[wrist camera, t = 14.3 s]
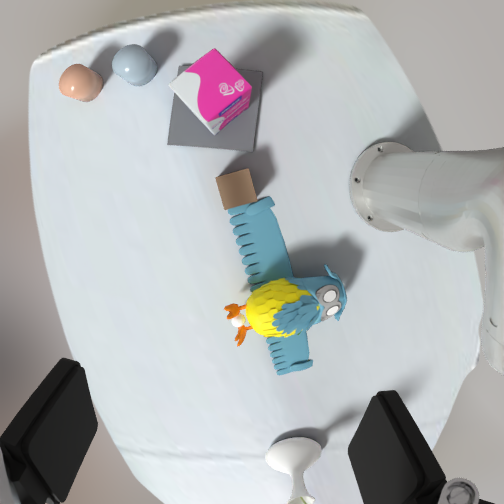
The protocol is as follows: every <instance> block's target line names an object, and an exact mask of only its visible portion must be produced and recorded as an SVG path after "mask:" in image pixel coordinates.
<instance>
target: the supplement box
mask: <svg viewBox="0 0 504 504" xmlns="http://www.w3.org/2000/svg"><path fill="white" fill-rule="evenodd" d="M169 86H170V88H171V89H172V90H173V91H174V92H175V93H176V94H177V95H178V96H179V98H180V99H181V100H182V101H183V102H184V103H185V104H186V105H187V107H188V108H189V109H190V110H191V111H192V112H193V113H194V114H195V115H196V116H197V118H198V119H199V120H200V121H201V122H202V123H203V124H204V125H205V126H206V127H207V128H208V129H209V131H210V132H211V133H212V134H213V135H216V134H217V133H218V132H219V131H220V130H222V129H223V128H224V127H225V126H226V125H227V124H228V123H230V122H231V121H232V120H233V119H235V118H236V117H237V116H238V115H240V114H241V113H242V112H244V111H245V110H247V109H248V107H249V101H250V96H251V90H252V86H251V85H250V84H249V83H248V82H247V81H246V80H245V79H244V78H243V77H242V76H241V75H240V73H239V72H238V71H237V70H236V69H235V68H234V67H233V66H232V65H231V64H230V63H229V62H228V61H227V60H226V59H225V58H224V57H223V56H222V55H221V54H220V53H219V52H218V51H217V50H216V49H215V48H214V49H212V50H211V51H209V52H208V53H207V54H205V55H204V56H203V57H201V58H200V59H199V60H197V61H196V62H195V63H193V64H192V65H191V66H190V67H188V68H187V69H186V70H185V71H184V72H182V73H181V74H180V75H179V76H178V77H177V78H175V79H174V80H173V81H172V82H171V83H170V84H169Z"/></svg>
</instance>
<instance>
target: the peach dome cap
mask: <svg viewBox="0 0 504 504" xmlns="http://www.w3.org/2000/svg"><path fill="white" fill-rule="evenodd" d="M102 86H103V80H102V77H101V76H100V75H99V74H98V73H96V72H94V71H92V70H91V69H89V68H87V67H85V66H83V65H81V64H74V65H71V66H70V67H68V68H67V69H66V70H65V71H64V72H63V74H62V75H61V78H60V81H59V89H60V92H61V93H62V94H63V95H65V96H68V97H71V98H74V99H77V100H80V101H83V102H89V101H92V100H93V99H95V98H96V97H97V96H98V95H99V93H100V92H101V90H102Z"/></svg>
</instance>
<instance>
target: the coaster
mask: <svg viewBox="0 0 504 504" xmlns="http://www.w3.org/2000/svg"><path fill="white" fill-rule="evenodd" d="M188 67H190V66H179V69H178V75H177V77H178V76H179V75H180V74H181V73H182V72H184V71H185V70H186V69H187V68H188ZM236 70H237V71H238V72H239V73H240V75H241V76H242V77H243V78H244V79H245V80H246V81H247V82H248V83H249V84H250V85H251V86H252V90H251V96H250V101H249V107H248V109H247V110H245V111H244V112H242V113H241V114H240V115H238V116H237V117H236V118H235V119H233V120H232V121H231V122H230V123H228V124H227V125H226V126H225V127H224V128H223V129H222V130H220V131H219V132H218V133H217V134H216V135H213V134H212V133H211V132H210V131H209V129H208V128H207V127H206V126H205V125H204V124H203V123H202V122H201V121H200V120H199V119H198V118H197V116H196V115H195V114H194V113H193V112H192V111H191V110H190V109H189V108H188V107H187V105H186V104H185V103H184V102H183V101H182V100H181V99H180V98H179V96H178V95H177V94H176V93H174V99H173V106H172V113H171V120H170V128H169V136H168V144H167V145H177V146H192V147H205V148H217V149H227V150H237V151H246V152H253V145H254V137H255V129H256V121H257V114H258V106H259V98H260V90H261V83H262V75H263V72H261V71H252V70H243V69H236Z"/></svg>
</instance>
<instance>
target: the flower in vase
mask: <svg viewBox="0 0 504 504" xmlns="http://www.w3.org/2000/svg"><path fill="white" fill-rule="evenodd" d="M321 451H322V448H321V446H320V445H319V443H317V442H316V441H314V440H312V439H309V438H304V437H295V438H288V439H285V440H282V441H279V442H277V443H275V444H274V445H272V446H271V447H270V448H269V449H268V451H267V452H266V455H265V459H266V461H267V463H268V464H269V466H271V467H272V468H274V469H276V470H278V471H281V472H284V473H288V474H289V475H290V477H291V480H292V495H291V497H290V499H289V500H288V502H287V504H312V503H313V502H314V501H315V498H314V497H313V496H311V495H310V494H309V493H308V491H307V489H306V487H305V484H304V479H303V473H304V471H305V470H307V469H308V468H310V467H311V466H312V465H313V464H315V463H316V461H317V460H318V459H319V458H320V455H321Z"/></svg>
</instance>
